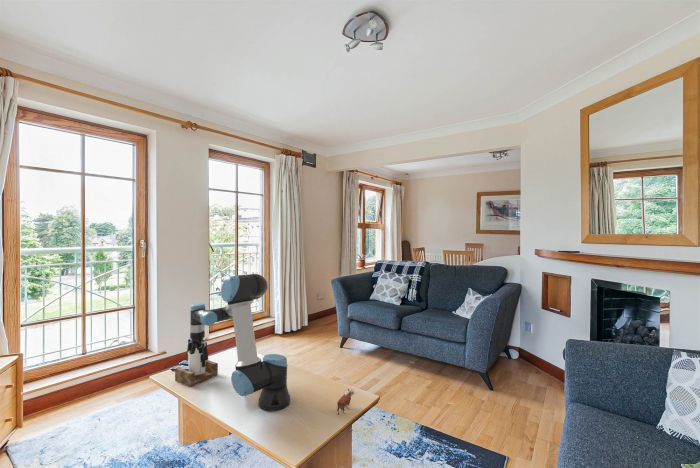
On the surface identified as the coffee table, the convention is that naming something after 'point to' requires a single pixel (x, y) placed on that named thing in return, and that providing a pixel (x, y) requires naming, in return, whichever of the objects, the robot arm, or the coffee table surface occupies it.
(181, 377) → the wooden tray
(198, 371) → the candle holder
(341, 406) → the bull figurine
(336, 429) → the coffee table surface
